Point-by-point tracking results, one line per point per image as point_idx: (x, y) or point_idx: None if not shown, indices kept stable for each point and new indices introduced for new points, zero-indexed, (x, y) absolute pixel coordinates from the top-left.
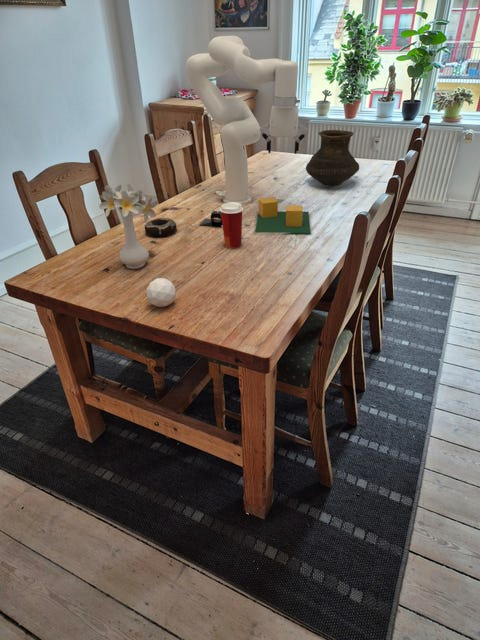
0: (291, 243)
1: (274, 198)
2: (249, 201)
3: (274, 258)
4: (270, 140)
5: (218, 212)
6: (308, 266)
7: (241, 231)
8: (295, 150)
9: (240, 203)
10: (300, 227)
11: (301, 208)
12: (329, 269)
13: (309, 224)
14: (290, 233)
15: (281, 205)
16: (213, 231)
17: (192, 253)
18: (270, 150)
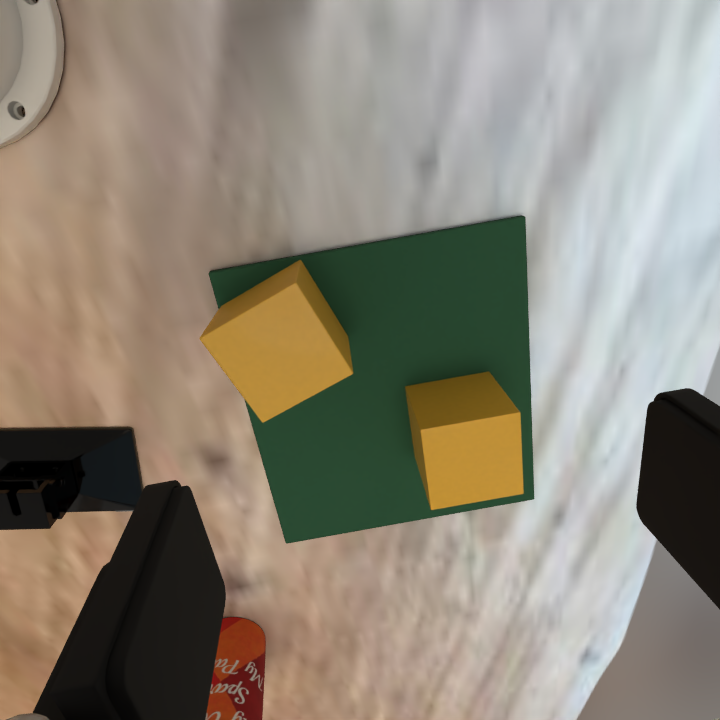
0: (456, 582)
1: (315, 315)
2: (59, 66)
3: (410, 684)
4: (113, 716)
5: (27, 512)
6: (522, 700)
7: (262, 694)
8: (686, 556)
9: (14, 139)
10: None
11: (516, 462)
12: (583, 701)
13: (530, 411)
14: (444, 513)
15: (325, 83)
16: (85, 551)
17: None
18: (207, 579)
